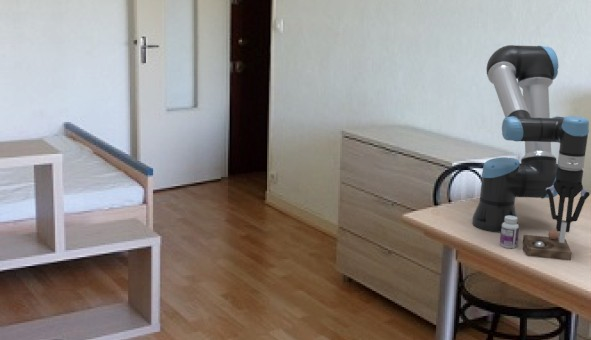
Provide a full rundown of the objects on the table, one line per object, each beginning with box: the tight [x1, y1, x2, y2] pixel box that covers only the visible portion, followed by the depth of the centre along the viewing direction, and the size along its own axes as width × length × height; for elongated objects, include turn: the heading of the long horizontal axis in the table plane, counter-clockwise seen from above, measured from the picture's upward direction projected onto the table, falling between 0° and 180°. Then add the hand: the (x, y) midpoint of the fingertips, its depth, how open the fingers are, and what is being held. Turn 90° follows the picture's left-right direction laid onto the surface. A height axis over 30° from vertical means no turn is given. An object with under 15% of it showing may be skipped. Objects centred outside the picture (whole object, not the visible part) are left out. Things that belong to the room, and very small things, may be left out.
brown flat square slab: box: [522, 234, 573, 261], centre depth 239 cm, size 14×13×2 cm
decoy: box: [547, 228, 559, 240], centre depth 242 cm, size 3×3×3 cm
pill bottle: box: [499, 215, 520, 249], centre depth 241 cm, size 5×5×10 cm
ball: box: [534, 241, 545, 247], centre depth 238 cm, size 3×3×3 cm
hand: (561, 241), depth 235 cm, fingers closed
